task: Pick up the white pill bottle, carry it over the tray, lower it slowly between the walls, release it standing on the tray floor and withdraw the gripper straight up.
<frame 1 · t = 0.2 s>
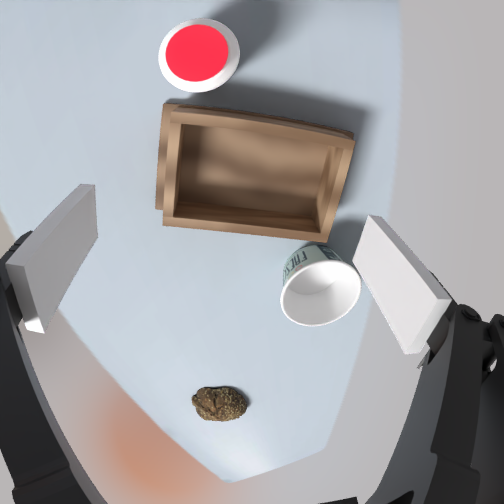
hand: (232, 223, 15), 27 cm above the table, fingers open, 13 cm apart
pill bottle: (203, 59, 32), on the table
food container: (311, 269, 50), on the table
bread roll: (218, 399, 68), on the table
tray: (252, 166, 40), on the table
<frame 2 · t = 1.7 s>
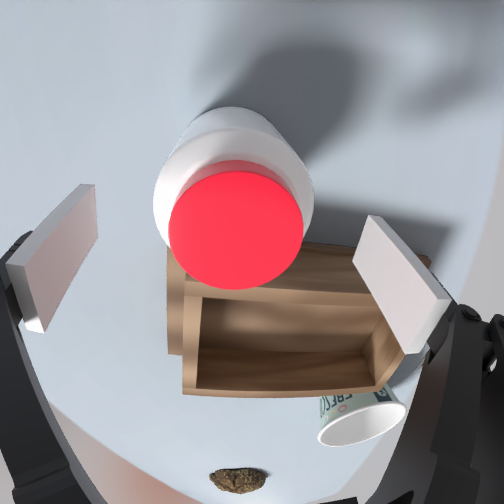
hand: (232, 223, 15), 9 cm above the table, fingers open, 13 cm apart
pill bottle: (230, 158, 22), on the table
food container: (350, 387, 40), on the table
bread roll: (236, 474, 58), on the table
tray: (297, 306, 30), on the table
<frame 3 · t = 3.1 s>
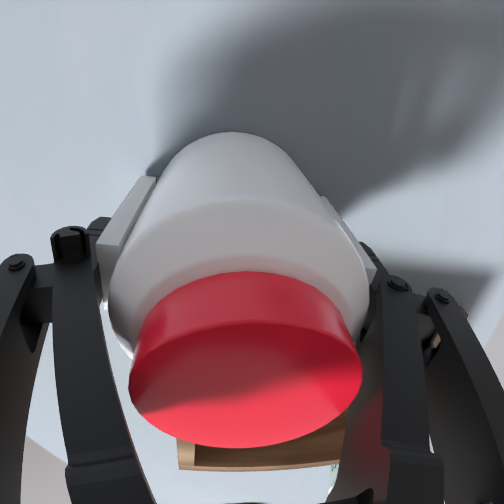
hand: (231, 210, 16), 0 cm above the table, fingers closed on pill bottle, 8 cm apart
pill bottle: (231, 205, 16), on the table, touching gripper
tray: (312, 371, 24), on the table
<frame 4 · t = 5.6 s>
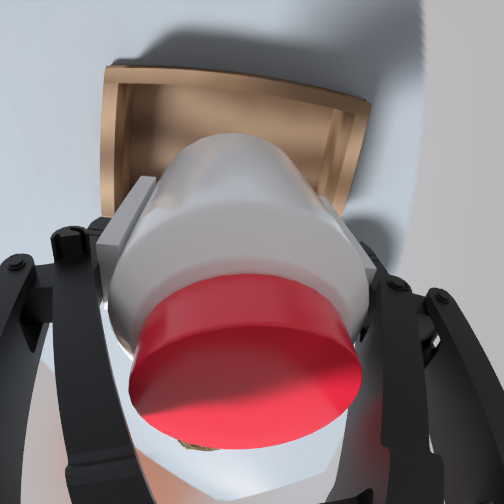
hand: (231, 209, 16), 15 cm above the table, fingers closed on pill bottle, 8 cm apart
pill bottle: (231, 206, 16), point 15 cm above the table, touching gripper
bread roll: (200, 427, 56), on the table
tray: (227, 144, 29), on the table
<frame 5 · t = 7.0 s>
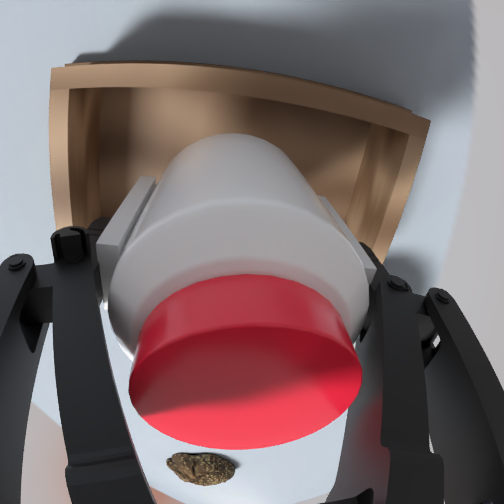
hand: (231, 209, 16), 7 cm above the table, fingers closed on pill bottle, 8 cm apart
pill bottle: (231, 206, 16), point 6 cm above the table, touching gripper
bread roll: (199, 461, 49), on the table
tray: (228, 168, 22), on the table
when the fingers open (3 cm above the table, at t = 8.2 s): pill bottle drops 2 cm, resting on tray.
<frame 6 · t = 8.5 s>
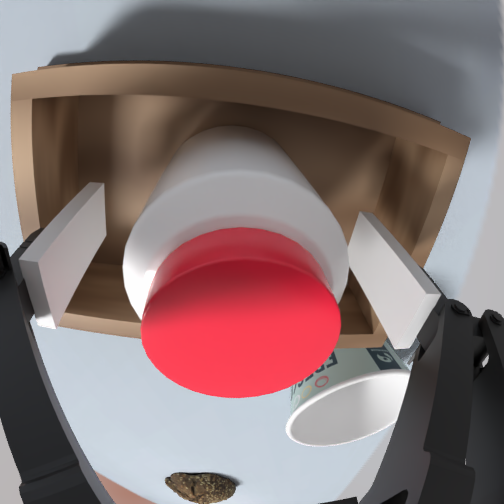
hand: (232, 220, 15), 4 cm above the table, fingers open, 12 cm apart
pill bottle: (230, 191, 18), point 1 cm above the table, touching tray
food container: (338, 357, 28), on the table
bread roll: (198, 479, 46), on the table
tray: (229, 187, 19), on the table
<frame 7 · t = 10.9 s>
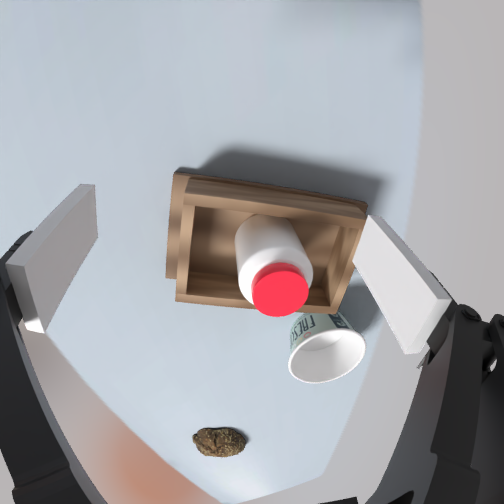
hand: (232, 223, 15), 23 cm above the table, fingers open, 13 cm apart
pill bottle: (265, 240, 40), point 1 cm above the table, touching tray
food container: (317, 328, 50), on the table
bread roll: (217, 437, 66), on the table
tray: (264, 237, 41), on the table
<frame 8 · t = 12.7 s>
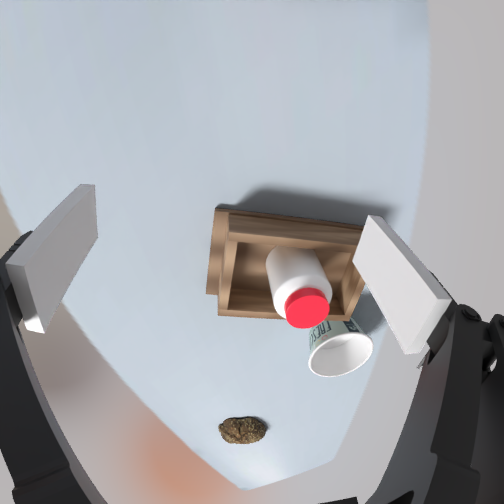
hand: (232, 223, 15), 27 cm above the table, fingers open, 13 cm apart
pill bottle: (291, 262, 47), point 1 cm above the table, touching tray
food container: (332, 330, 58), on the table
bread roll: (240, 425, 76), on the table
tray: (290, 259, 48), on the table
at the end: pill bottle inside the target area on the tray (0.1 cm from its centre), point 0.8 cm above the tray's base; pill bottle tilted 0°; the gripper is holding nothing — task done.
